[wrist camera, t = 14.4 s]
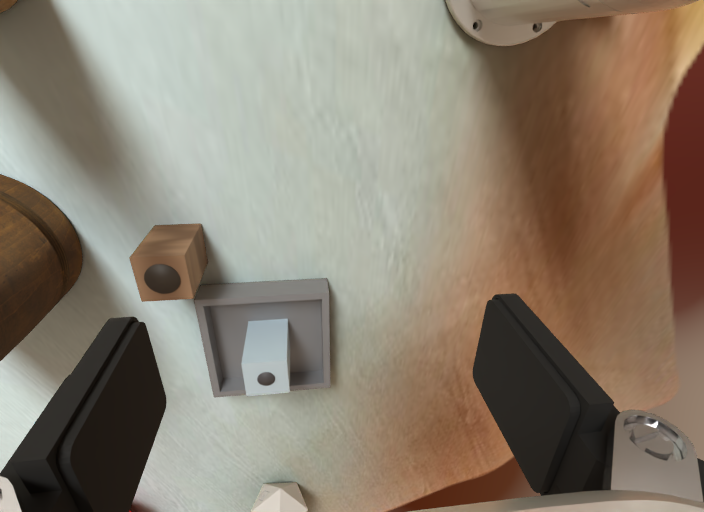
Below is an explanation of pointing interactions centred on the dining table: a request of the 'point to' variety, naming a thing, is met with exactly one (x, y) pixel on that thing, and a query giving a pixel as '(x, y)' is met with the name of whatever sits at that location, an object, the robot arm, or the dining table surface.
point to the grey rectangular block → (266, 357)
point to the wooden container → (32, 260)
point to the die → (279, 498)
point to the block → (6, 4)
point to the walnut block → (170, 262)
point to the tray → (265, 304)
